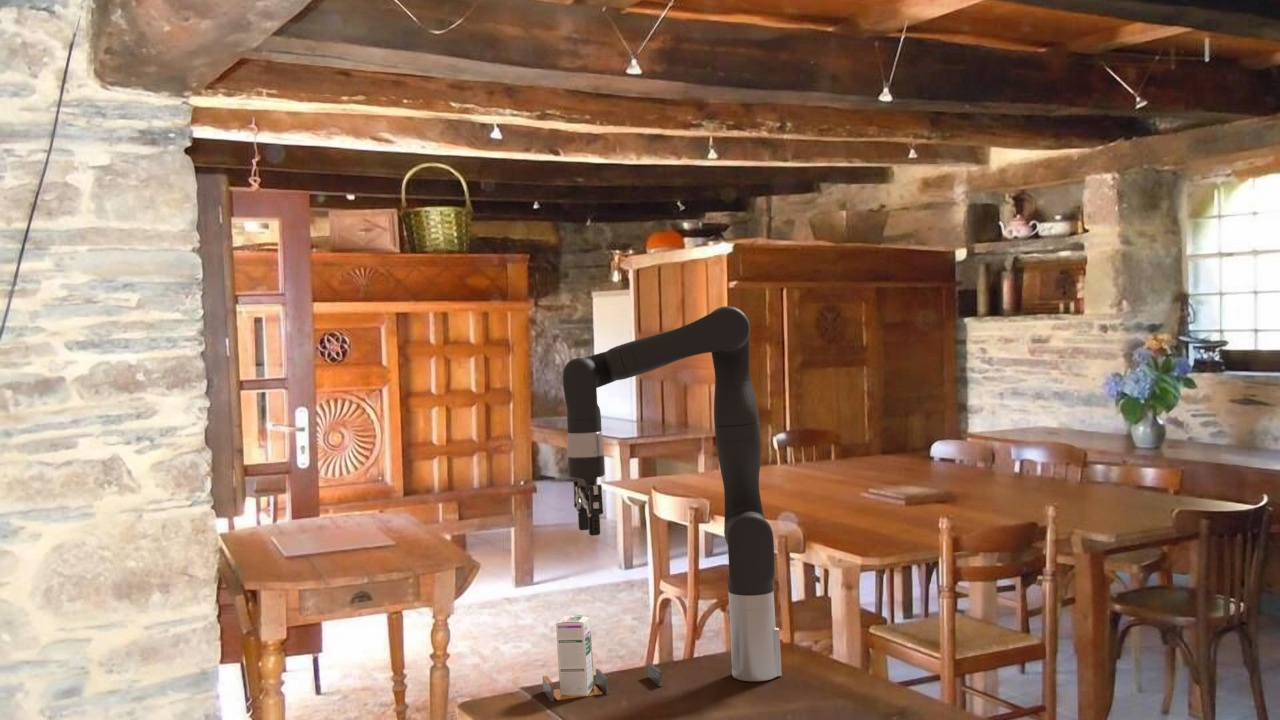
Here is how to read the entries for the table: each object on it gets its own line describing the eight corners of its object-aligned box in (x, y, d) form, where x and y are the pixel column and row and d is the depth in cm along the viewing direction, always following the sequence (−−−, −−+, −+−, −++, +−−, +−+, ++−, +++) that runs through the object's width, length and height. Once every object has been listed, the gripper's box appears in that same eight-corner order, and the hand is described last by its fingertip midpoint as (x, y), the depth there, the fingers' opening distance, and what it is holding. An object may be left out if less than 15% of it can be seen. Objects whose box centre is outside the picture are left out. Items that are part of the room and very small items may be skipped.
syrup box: (588, 696, 209) (584, 621, 210) (558, 696, 210) (555, 621, 211) (594, 687, 215) (591, 614, 215) (565, 687, 216) (562, 614, 216)
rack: (650, 676, 221) (649, 660, 221) (662, 686, 214) (661, 669, 214) (542, 691, 215) (541, 674, 215) (551, 702, 207) (550, 684, 207)
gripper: (612, 455, 217) (616, 535, 217) (594, 450, 230) (597, 526, 230) (576, 457, 215) (580, 539, 214) (560, 453, 228) (563, 529, 228)
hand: (589, 532), depth 222 cm, fingers open, 8 cm apart
